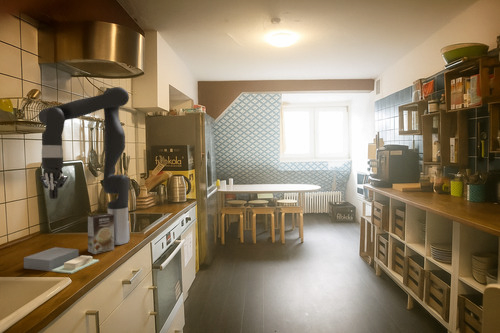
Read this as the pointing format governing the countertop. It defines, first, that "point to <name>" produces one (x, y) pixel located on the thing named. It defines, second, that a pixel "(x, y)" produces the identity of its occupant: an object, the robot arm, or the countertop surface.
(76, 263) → the tile
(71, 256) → the grey flat block
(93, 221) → the coffee box
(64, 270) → the mat
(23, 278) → the countertop surface
